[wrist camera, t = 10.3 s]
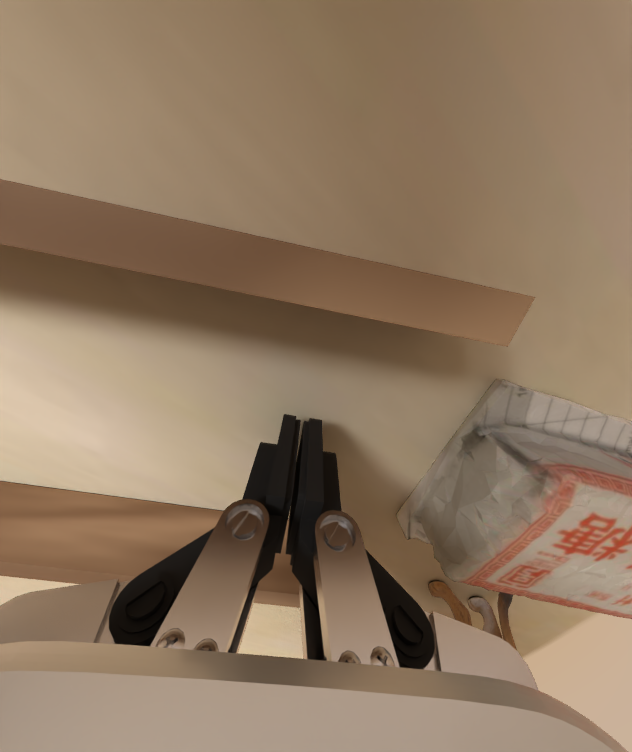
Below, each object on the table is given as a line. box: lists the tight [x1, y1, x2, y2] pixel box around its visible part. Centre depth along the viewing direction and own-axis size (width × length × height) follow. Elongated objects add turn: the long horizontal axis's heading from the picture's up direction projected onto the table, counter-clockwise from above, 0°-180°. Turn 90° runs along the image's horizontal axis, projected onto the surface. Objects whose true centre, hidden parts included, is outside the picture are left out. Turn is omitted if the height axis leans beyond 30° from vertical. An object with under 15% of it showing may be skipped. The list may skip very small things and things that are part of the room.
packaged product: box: [396, 379, 632, 619], centre depth 12 cm, size 18×5×10 cm
